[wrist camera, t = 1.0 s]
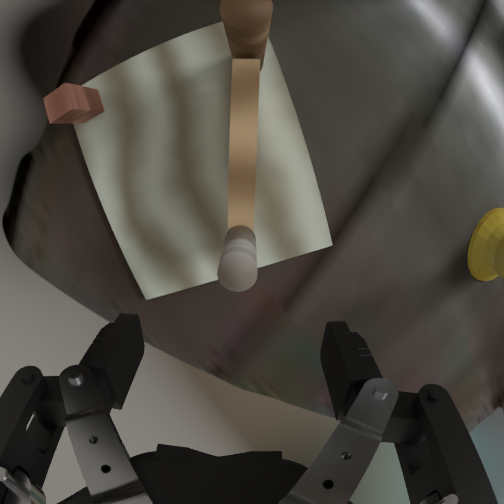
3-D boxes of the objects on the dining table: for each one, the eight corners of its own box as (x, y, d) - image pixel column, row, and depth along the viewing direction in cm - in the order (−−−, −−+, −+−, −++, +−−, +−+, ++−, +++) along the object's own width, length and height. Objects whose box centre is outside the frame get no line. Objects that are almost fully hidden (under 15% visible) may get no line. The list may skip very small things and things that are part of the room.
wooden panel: (235, 80, 27) (222, 32, 13) (259, 81, 27) (267, 33, 13) (231, 237, 33) (218, 314, 19) (253, 238, 33) (255, 316, 19)
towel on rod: (257, 15, 25) (262, -66, 10) (330, 242, 35) (380, 318, 20) (69, 96, 27) (-24, 90, 13) (148, 296, 37) (102, 382, 23)
